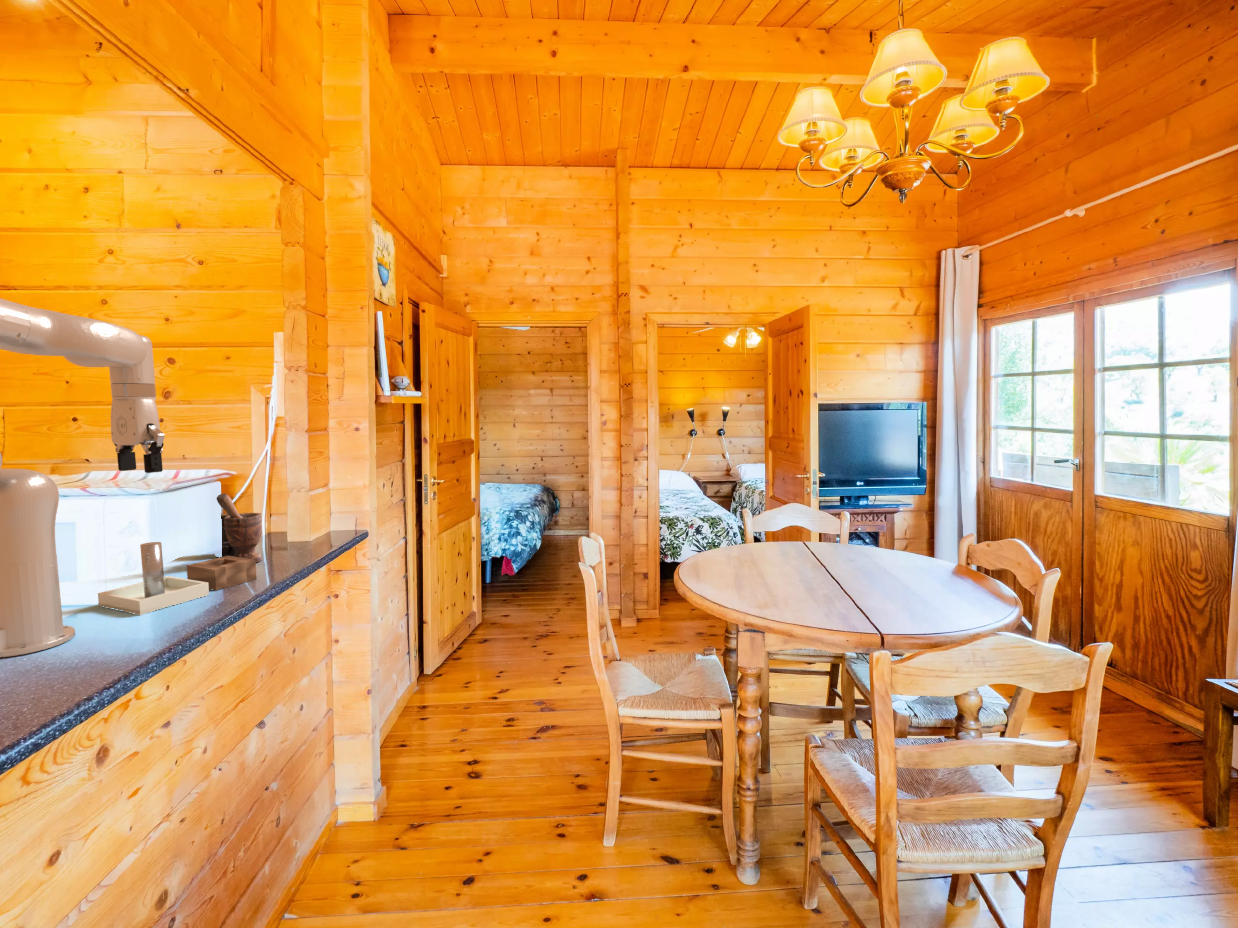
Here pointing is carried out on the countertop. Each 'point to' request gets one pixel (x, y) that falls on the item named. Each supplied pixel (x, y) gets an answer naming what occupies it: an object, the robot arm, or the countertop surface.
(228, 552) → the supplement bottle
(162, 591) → the pin
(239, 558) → the pin block
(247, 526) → the mortar and pestle
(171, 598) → the tray
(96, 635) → the countertop surface
